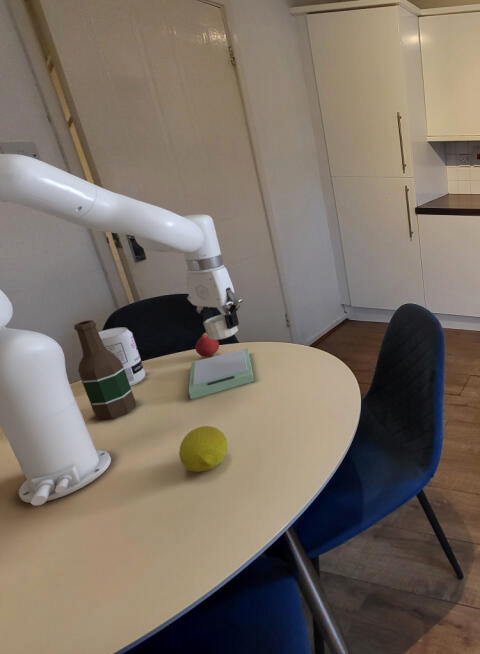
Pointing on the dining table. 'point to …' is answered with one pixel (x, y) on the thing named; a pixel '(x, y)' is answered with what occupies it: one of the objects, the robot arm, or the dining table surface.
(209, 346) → the onion
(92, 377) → the beer bottle
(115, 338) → the supplement can
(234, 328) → the bowl
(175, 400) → the dining table surface
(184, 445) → the lemon
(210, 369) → the scale
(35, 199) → the robot arm
